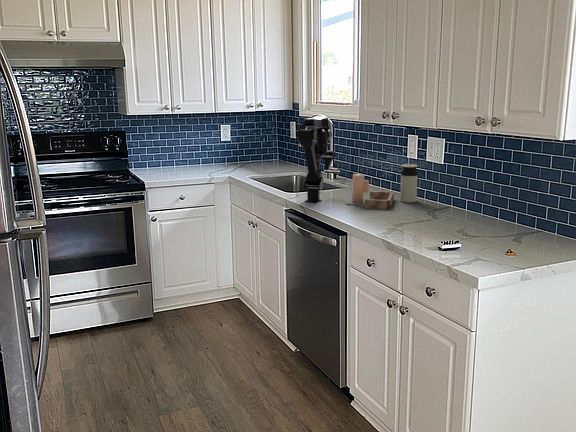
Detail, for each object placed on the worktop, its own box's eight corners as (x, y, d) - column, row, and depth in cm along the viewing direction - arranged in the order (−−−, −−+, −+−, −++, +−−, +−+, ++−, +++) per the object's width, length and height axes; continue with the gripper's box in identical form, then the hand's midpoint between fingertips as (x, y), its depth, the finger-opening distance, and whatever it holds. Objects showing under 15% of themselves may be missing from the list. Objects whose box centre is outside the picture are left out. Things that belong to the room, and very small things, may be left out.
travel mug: (419, 202, 280) (420, 165, 276) (405, 203, 278) (406, 166, 274) (411, 199, 287) (412, 163, 283) (397, 200, 285) (398, 164, 281)
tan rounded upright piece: (351, 202, 278) (352, 175, 275) (352, 200, 284) (353, 173, 280) (367, 203, 276) (368, 176, 273) (368, 201, 282) (369, 174, 279)
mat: (346, 204, 277) (346, 203, 277) (349, 200, 286) (349, 199, 286) (367, 205, 274) (367, 204, 274) (369, 201, 284) (369, 200, 284)
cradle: (364, 208, 268) (364, 199, 267) (370, 198, 290) (370, 191, 289) (389, 209, 265) (390, 200, 265) (393, 199, 287) (393, 191, 286)
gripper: (318, 139, 305) (318, 168, 308) (298, 142, 290) (298, 172, 294) (336, 140, 298) (336, 169, 302) (316, 143, 284) (316, 174, 287)
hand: (321, 171), depth 296 cm, fingers open, 9 cm apart
